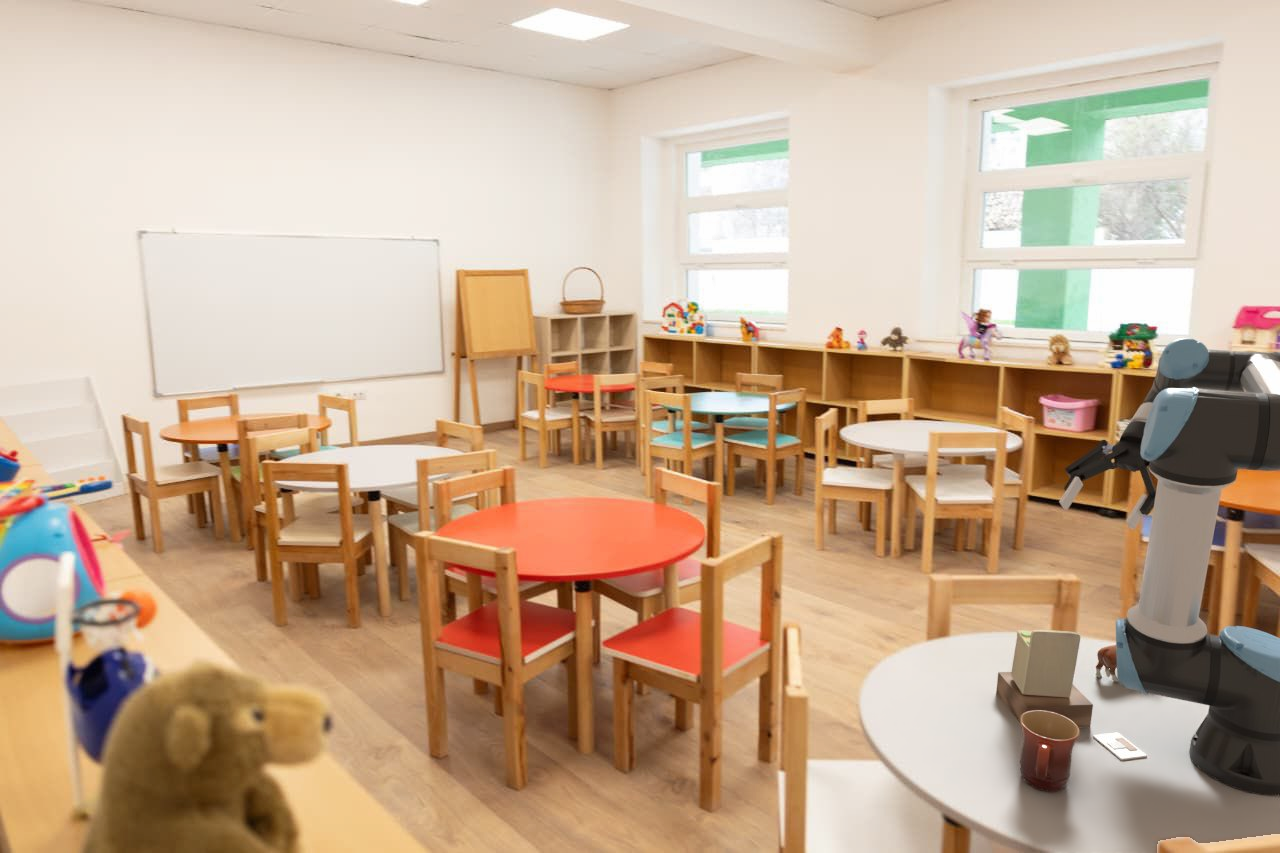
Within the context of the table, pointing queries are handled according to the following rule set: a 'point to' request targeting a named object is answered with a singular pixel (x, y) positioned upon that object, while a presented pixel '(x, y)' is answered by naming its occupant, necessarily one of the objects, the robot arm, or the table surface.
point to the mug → (1047, 749)
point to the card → (1119, 746)
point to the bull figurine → (1107, 661)
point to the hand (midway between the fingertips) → (1095, 515)
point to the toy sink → (1045, 662)
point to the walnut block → (1044, 702)
